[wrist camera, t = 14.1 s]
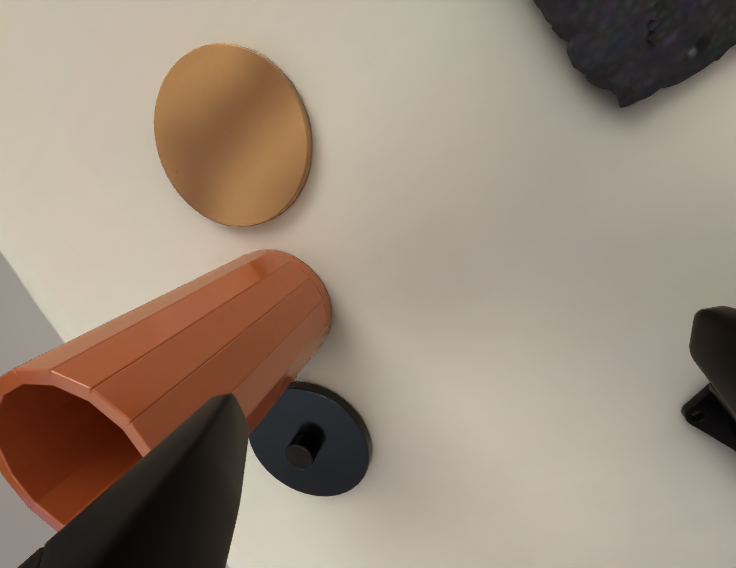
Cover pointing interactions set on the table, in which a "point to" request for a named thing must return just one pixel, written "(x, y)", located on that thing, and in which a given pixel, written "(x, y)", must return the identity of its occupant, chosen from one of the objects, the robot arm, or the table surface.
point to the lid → (313, 441)
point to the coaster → (232, 134)
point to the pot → (155, 377)
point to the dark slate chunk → (641, 40)
